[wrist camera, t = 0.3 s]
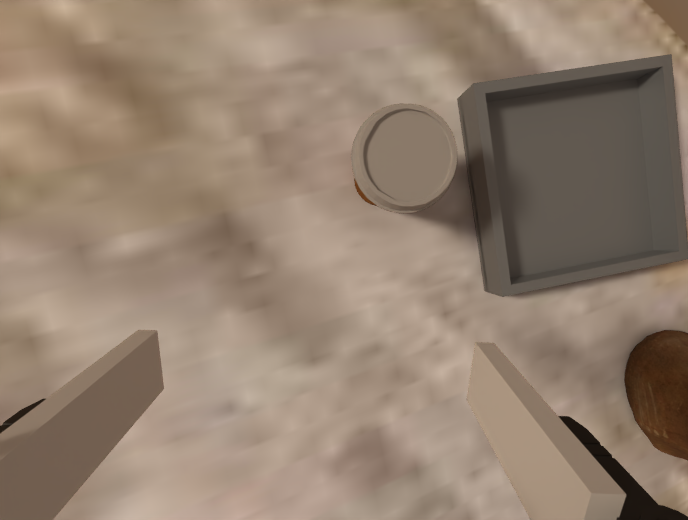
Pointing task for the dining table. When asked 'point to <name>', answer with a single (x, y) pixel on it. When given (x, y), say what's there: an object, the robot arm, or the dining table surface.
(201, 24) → the dining table surface
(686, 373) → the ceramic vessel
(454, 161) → the disposable coffee cup
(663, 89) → the grey tray
